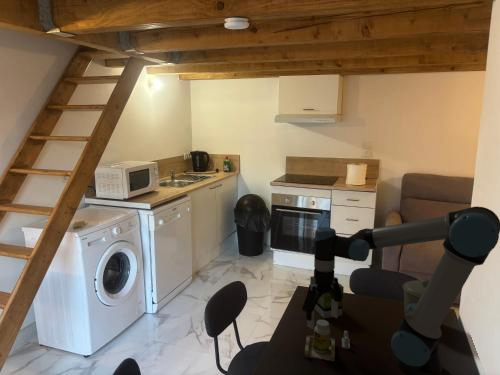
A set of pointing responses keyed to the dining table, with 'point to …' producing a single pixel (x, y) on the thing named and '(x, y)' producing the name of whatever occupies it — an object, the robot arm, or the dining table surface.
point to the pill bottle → (321, 336)
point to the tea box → (327, 302)
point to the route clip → (346, 341)
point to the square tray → (314, 354)
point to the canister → (413, 291)
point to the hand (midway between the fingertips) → (322, 322)
